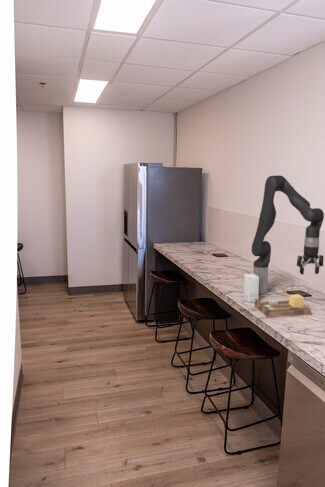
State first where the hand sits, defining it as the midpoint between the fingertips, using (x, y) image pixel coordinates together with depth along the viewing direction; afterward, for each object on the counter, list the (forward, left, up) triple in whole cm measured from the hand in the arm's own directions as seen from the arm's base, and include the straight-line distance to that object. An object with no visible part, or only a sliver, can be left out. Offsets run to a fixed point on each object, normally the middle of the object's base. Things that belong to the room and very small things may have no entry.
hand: (309, 273), depth 207 cm
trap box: (-1, -14, -21) cm, 25 cm away
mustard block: (-1, -6, -18) cm, 19 cm away
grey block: (-7, -17, -21) cm, 28 cm away
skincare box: (-20, -25, -21) cm, 38 cm away
